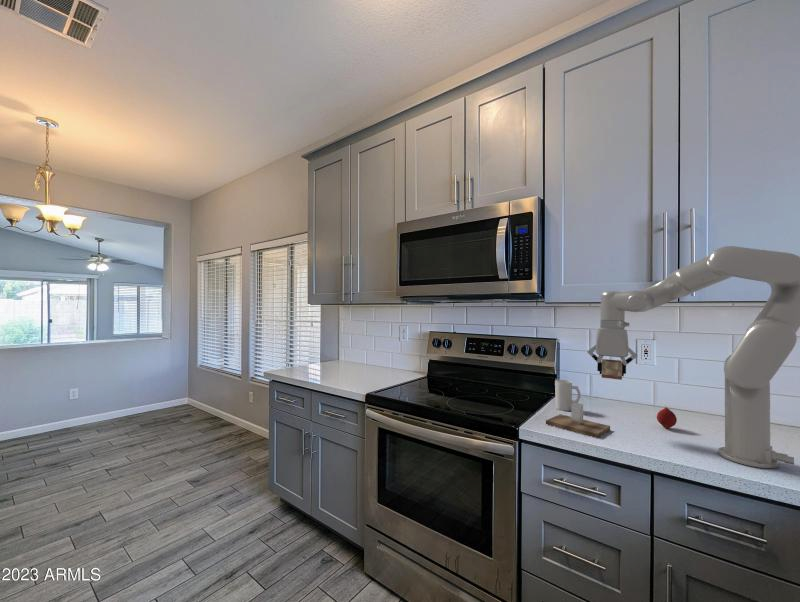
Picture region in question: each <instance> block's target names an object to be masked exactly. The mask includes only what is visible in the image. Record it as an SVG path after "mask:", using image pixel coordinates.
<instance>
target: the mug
mask: <svg viewBox="0 0 800 602" xmlns="http://www.w3.org/2000/svg"><path fill="white" fill-rule="evenodd" d="M554 386H555V387H554V389H555V392H554V395H555V409H557V410H559V411H562V410H563V411H564V412H568V411H569V412H571V404H573V403H579V401H580V400H581V391H580V389H579V386H578V385H573V381H571V380H568V379H555V380H554ZM573 390H575V392H576V393H577V397H576V399H575V400H573V394H572V393H573Z"/></svg>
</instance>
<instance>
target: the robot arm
mask: <svg viewBox="0 0 800 602" xmlns="http://www.w3.org/2000/svg"><path fill="white" fill-rule="evenodd" d="M732 277H735V278H739V279H744V280H751V281H757V282H763V283H766V284H768V285H769V286H770V290H771V291H770V292H771V293H770V296H769V298H768V299H767V301H766V302H765V303H764V305H763V307H762V309H761V311H760V312H759V314H758V315H757V316H756V318H755V319H754V320H753V321H752V323H751V324H750V325H749V326H748V327H747V328H746V330H745V333H744V334H743V336H742V338H741V339H740V341H739V343H737V345H736V346H735V348H734V350H733V351H732V353H731V354H730V355H728V356H727V357H726V359H725V361H724V363H723V371H724V372H723V373H724V446H720V447H718V449H717V452H718V455H720V456H721V457H723V458H724V459H727V460H729V461H731V462H735V463H738V464H741V465H745V466H747V467H748V466H749V467H753V468H761V469H775V468H778V467H779V462H782V463H785V464H788V465H793V466H794V465H795V456H794V457H793V456H789V454H786V453H780V452H777V451H776V450H773V446H772V445H771V386H770V385H771V383H770V382H771V380H772V379H773V378H774V377H775V375H776V374H777V372H778V371H779V370H780V368H781V367H782V365H783V364H784V363H785V362H786V360H787V358H788V357H789V355H790V354H791V353H792V351H793V350H794V347H795V346H796V344H797V342H798V341H797V339H798V338H797V332H798V330H799V328H800V256H799V255H796V254H794V253H790V252H783V251H775V250H766V249H759V248H758V249H757V248H749V247H742V246H735V245H727V246H726V245H725V246H722V247H719V248H717V249H715V250H714V251H712V253H710V254H709V255H708V256H705V257H703V258H701V259H699V260H697V261H695V262H692V263H690V264H687V265H685V266H683V267H681V268H678V269H676V270H675V271H673V272H671V273H670V274H669V275H668V276H667V277H666V278H664V279H663V280H661V281H659V282H657V283H655V284H653V285H651V286H648V287H646V288H643V289H641V290H628V291H615V290H614V291H612V290H611V291H603V292H602V293H601V295H600V325H599V326H600V327H598V328H597V331H596V340H595V345H593V347H591V348H590V349H588V350H587V353H588V355H590V357H592V359H593V360H594V361H595V362H596V363H597V367H596V368H597V372H599V375H602V359H604V357H613V358H614V357H615V358H620V360H621V361H622V377H625V375H626V374H627V365H629V364H630V363H631V362H632V361H634V360H635V359H636V358H637V357H638V355H637V353H636V352H635V351H633V350H632V349H631V348H630V347H629V338H628V337H629V336H628V330H627V329H625V328H626V327H630V322H626V321H625V320H626V319H625V318H626V317H625V313H626V312H631V313H643V312H647V311H650V310H653V309H655V308H657V307H661V306H662V305H666V304H667V303H670V302H672V301H675V300H677V299H681V298H683V297H686V296H689V295H691V294H693V293H695V292H699V291H700V290H703V289H706V288H708V287H710V286H712V285H713V286H714V285H715V284H717V283H721V282H723V281H725V280H728V279H730V278H732ZM594 352H595V353H596V354H597V355H598V356H597V355H596V354H595V353H594ZM629 354H630V356H629ZM628 356H629V357H628ZM627 357H628V358H627Z"/></svg>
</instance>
